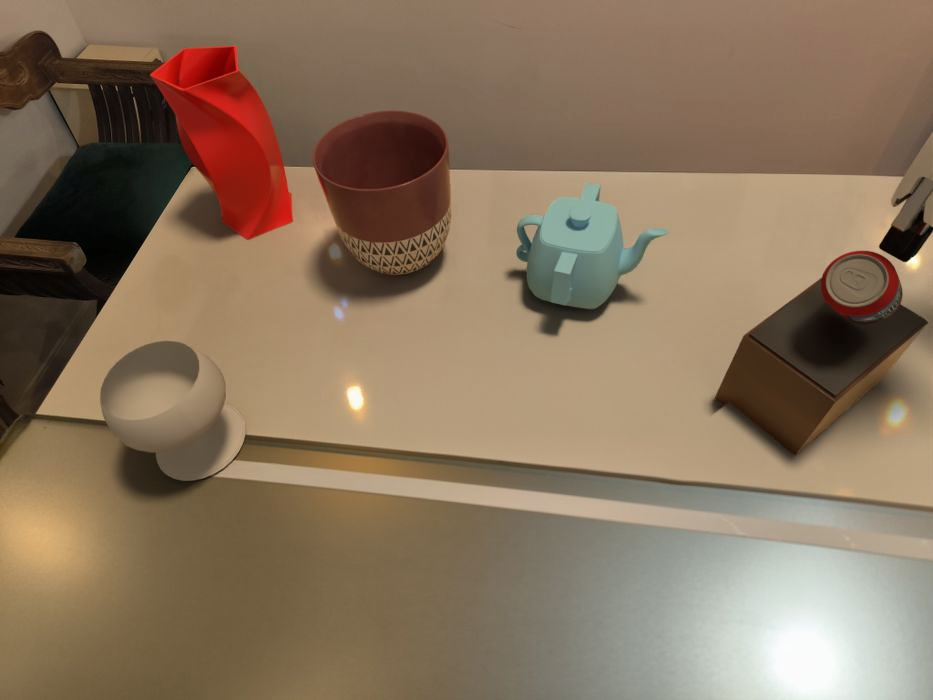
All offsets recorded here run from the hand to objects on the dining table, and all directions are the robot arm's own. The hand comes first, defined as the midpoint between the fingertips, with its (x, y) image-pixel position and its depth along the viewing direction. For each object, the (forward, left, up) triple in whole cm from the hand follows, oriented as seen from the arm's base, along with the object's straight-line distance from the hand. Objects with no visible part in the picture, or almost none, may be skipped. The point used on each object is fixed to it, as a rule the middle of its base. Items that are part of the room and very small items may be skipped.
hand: (896, 252), depth 65 cm
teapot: (+12, -33, -24) cm, 42 cm away
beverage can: (0, 0, -7) cm, 7 cm away
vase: (+46, -84, -24) cm, 99 cm away
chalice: (+72, -44, -24) cm, 88 cm away
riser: (+4, 0, -23) cm, 24 cm away
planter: (+31, -57, -24) cm, 69 cm away
